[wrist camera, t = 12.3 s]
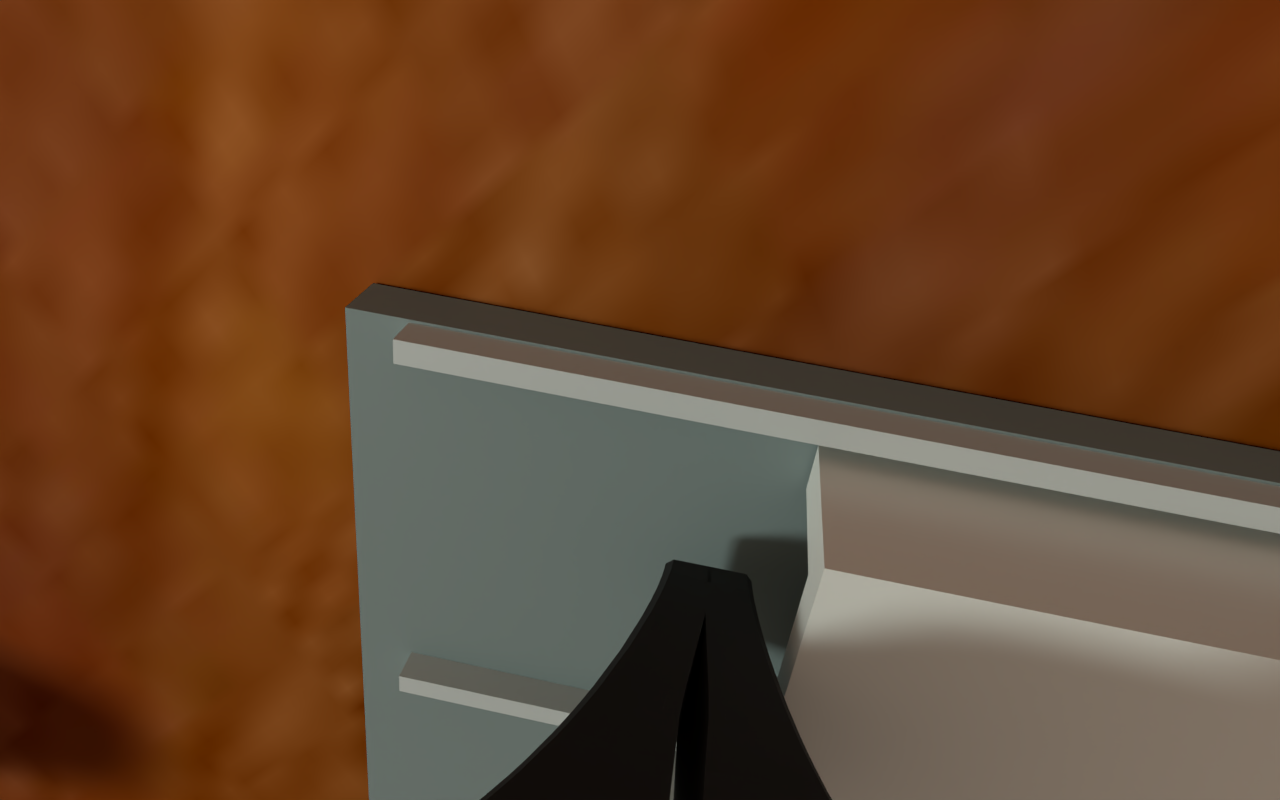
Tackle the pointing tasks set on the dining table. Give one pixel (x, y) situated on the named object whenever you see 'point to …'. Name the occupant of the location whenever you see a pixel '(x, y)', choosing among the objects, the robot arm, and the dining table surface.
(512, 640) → the housing board
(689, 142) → the dining table surface
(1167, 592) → the cover
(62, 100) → the dining table surface
